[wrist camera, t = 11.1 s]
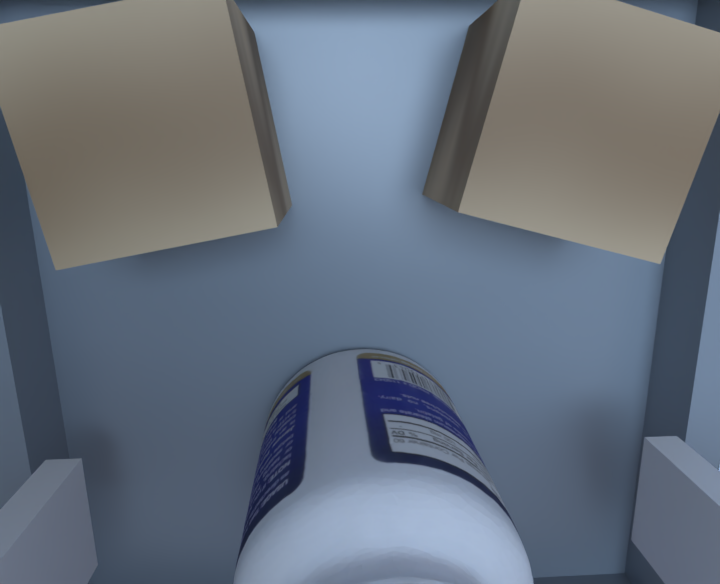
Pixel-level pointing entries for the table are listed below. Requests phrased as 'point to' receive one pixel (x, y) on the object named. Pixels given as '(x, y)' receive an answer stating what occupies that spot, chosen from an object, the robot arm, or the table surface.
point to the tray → (358, 317)
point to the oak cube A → (141, 127)
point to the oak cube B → (578, 122)
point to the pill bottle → (373, 484)
